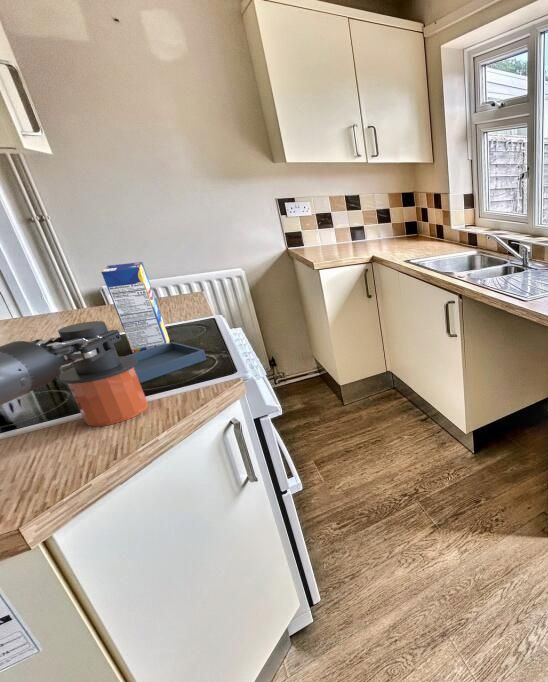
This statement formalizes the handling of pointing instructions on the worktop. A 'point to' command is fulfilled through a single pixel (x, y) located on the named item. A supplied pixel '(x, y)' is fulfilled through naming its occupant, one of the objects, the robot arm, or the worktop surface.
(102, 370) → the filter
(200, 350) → the tray
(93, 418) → the cup
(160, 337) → the beverage box
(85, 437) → the worktop surface
